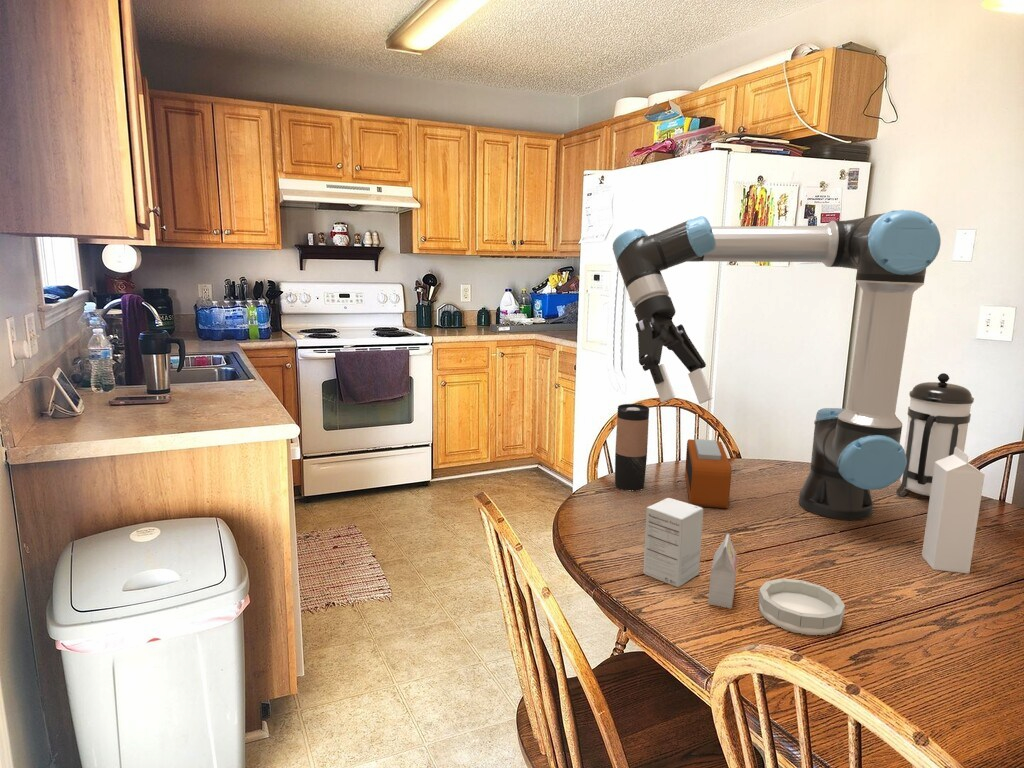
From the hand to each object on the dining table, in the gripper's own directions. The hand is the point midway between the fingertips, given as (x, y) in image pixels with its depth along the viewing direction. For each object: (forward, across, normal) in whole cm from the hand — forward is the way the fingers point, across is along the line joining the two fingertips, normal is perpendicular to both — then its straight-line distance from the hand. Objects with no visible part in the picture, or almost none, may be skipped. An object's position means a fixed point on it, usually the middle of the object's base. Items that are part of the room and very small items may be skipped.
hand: (687, 400), depth 126 cm
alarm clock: (+14, -35, -23) cm, 44 cm away
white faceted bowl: (+40, +5, +8) cm, 41 cm away
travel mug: (+8, -24, -36) cm, 44 cm away
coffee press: (+29, -72, +12) cm, 79 cm away
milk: (+41, -33, +20) cm, 56 cm away
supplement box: (+29, +8, -11) cm, 32 cm away
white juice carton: (+35, +9, -2) cm, 36 cm away
